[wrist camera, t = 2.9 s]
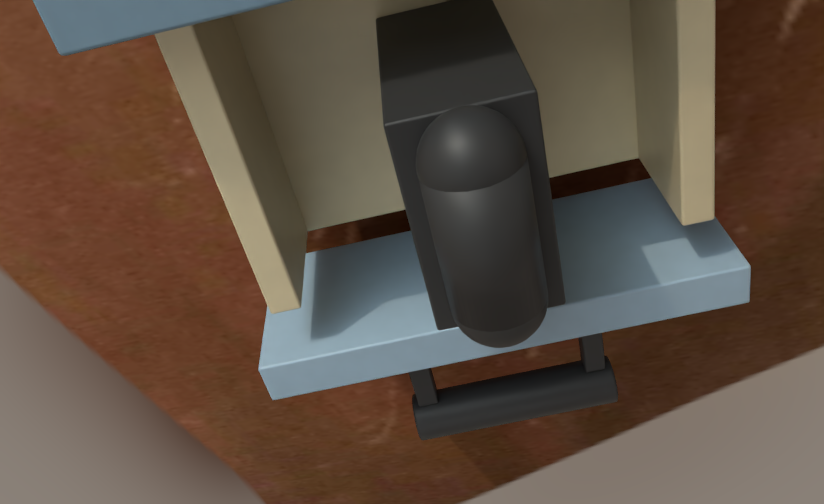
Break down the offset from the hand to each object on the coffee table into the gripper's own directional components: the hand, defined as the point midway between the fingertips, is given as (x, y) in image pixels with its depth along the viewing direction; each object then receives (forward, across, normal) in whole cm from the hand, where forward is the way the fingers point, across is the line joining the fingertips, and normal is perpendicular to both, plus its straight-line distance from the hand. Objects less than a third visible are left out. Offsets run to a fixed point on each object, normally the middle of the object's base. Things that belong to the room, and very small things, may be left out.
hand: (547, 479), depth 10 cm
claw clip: (+12, 0, 0) cm, 12 cm away
